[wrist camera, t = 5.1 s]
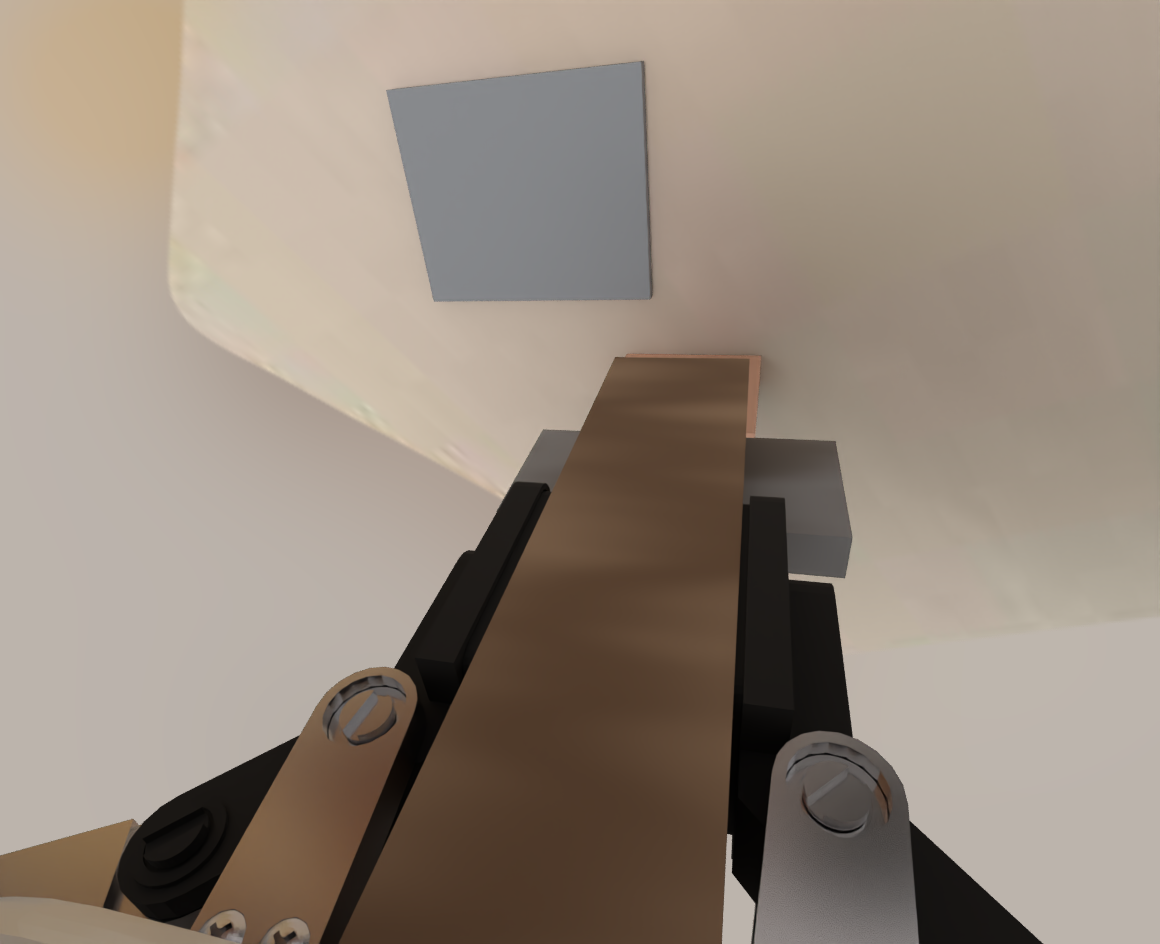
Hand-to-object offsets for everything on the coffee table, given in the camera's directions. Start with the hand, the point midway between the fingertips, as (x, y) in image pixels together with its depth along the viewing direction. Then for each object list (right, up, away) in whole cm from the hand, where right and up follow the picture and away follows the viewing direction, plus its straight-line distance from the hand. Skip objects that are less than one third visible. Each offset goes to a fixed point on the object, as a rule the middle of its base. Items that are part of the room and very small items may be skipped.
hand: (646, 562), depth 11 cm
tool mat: (-4, +15, +20) cm, 25 cm away
